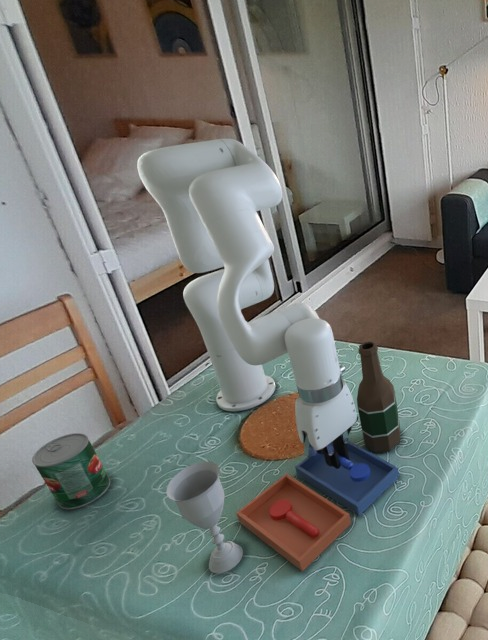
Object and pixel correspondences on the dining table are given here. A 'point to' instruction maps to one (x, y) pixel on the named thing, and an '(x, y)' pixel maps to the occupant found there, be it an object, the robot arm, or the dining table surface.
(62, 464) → the canned tomato
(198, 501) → the chalice
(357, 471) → the blue spoon
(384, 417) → the beer bottle
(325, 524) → the terracotta tray
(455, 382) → the dining table surface
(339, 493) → the blue tray
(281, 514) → the red spoon
